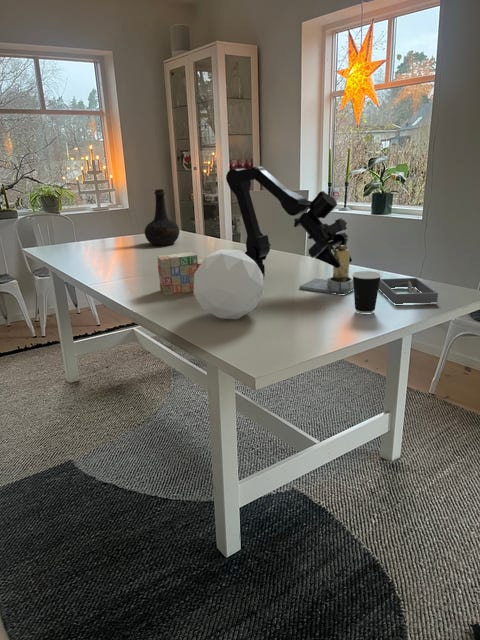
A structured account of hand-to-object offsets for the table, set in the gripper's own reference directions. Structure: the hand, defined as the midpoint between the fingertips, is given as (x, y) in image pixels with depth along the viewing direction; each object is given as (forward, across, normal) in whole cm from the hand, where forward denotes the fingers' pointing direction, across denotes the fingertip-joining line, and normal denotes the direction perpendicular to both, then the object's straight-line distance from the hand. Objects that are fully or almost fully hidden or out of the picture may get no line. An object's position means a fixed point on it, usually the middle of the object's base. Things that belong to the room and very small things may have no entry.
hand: (345, 264), depth 156 cm
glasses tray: (+20, +2, -8) cm, 21 cm away
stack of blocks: (-26, -23, +39) cm, 52 cm away
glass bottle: (-77, +38, +90) cm, 125 cm away
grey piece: (+2, 0, +10) cm, 10 cm away
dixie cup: (+16, -19, -4) cm, 25 cm away
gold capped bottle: (+4, 0, +6) cm, 8 cm away
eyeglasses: (+19, +2, -6) cm, 20 cm away
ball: (-6, -41, +18) cm, 45 cm away
